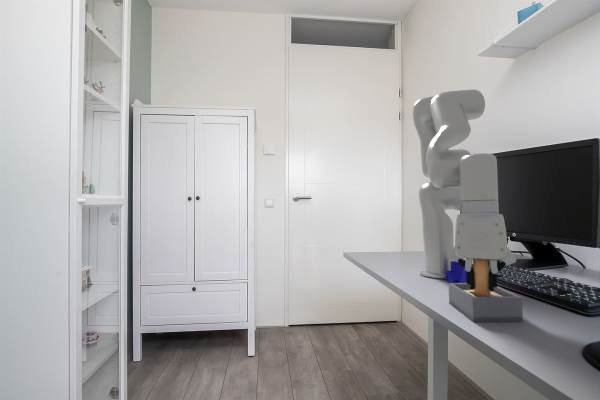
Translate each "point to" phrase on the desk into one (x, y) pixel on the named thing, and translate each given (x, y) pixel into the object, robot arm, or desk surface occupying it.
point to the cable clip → (456, 273)
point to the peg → (481, 278)
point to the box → (486, 304)
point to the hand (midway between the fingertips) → (482, 288)
